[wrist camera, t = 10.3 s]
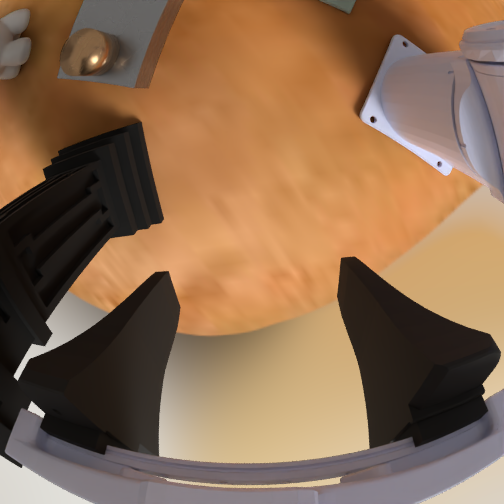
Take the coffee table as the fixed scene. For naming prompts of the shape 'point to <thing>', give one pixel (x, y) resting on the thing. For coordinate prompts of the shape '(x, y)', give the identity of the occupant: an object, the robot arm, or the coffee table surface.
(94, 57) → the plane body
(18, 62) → the chubby cartoon animal
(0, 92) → the coffee table surface
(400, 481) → the robot arm
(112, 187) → the chess piece
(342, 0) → the rubber mat
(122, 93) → the coffee table surface
